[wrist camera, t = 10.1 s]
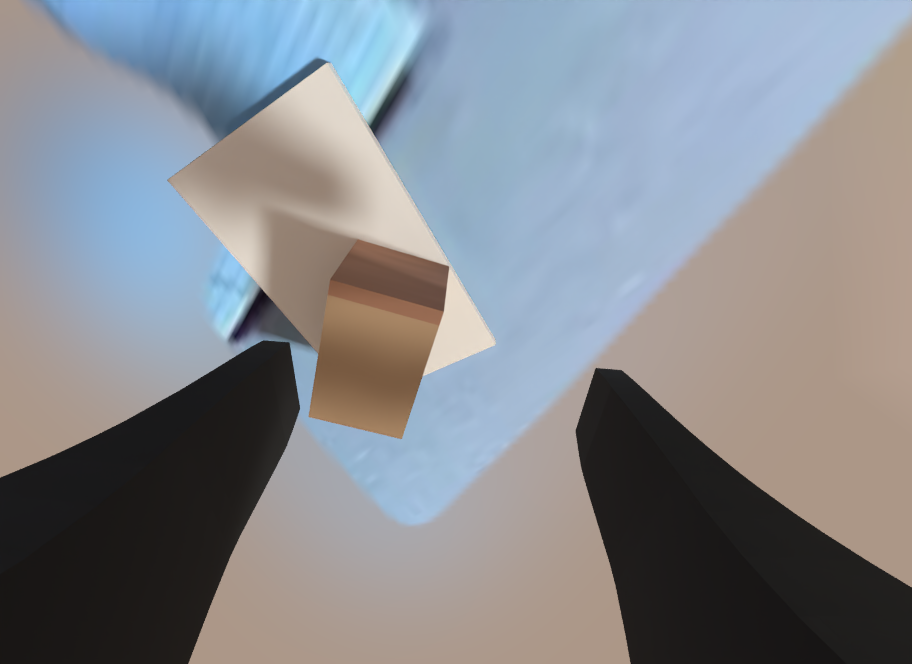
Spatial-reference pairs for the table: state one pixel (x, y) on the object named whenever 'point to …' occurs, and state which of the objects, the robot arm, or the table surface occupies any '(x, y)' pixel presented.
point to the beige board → (318, 208)
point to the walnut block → (377, 338)
